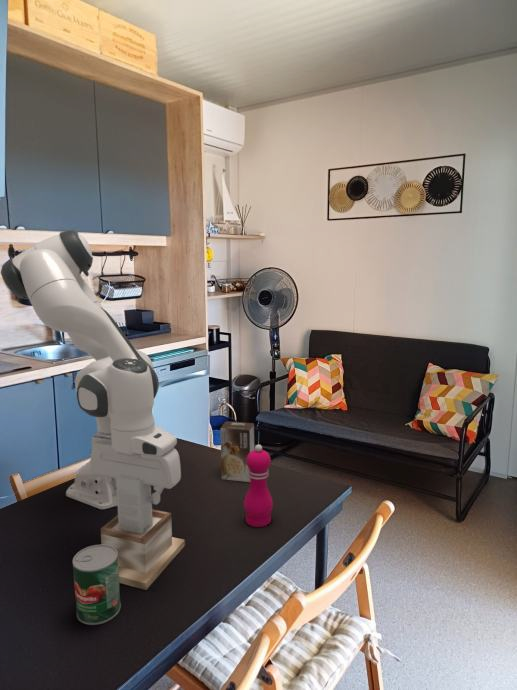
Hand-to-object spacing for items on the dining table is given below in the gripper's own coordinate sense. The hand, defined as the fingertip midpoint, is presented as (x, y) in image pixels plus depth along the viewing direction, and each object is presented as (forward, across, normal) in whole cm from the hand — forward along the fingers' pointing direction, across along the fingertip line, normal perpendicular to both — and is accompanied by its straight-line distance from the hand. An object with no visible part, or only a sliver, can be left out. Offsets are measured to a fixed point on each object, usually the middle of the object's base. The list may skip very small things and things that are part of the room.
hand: (135, 498), depth 105 cm
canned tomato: (+14, +2, -16) cm, 21 cm away
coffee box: (+14, +5, +45) cm, 48 cm away
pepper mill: (+14, +19, +24) cm, 34 cm away
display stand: (+14, 0, 0) cm, 14 cm away
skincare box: (+6, 0, -1) cm, 6 cm away
